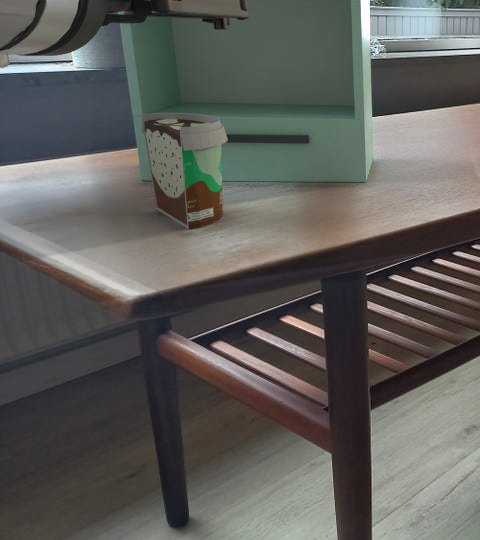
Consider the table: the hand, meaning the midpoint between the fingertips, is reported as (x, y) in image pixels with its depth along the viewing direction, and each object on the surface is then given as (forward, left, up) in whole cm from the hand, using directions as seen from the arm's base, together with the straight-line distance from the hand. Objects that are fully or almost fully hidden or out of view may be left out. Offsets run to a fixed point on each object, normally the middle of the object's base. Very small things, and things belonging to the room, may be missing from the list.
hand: (138, 8), depth 57 cm
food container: (-1, +9, -20) cm, 22 cm away
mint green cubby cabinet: (-3, +33, -20) cm, 39 cm away
